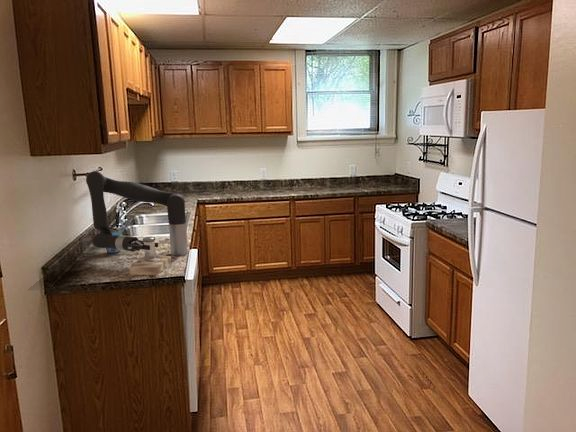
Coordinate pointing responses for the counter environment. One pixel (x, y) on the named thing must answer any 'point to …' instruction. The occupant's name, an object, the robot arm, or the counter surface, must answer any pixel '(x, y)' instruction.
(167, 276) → the counter surface
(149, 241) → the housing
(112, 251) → the snack cup
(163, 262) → the stand
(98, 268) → the counter surface
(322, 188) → the counter surface
